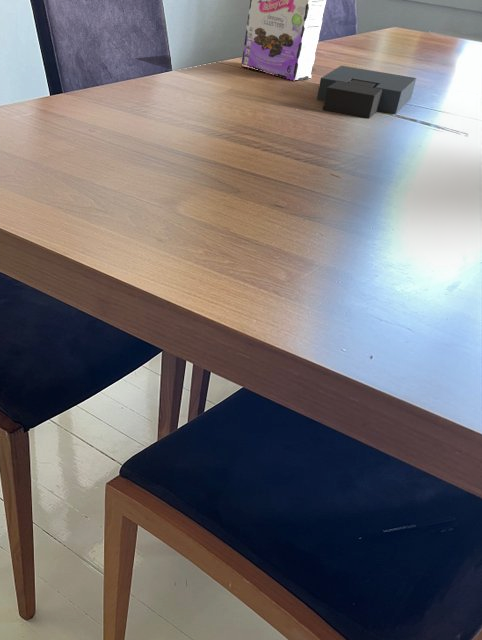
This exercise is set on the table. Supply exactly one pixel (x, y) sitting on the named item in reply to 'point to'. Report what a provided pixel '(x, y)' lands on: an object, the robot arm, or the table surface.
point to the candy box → (283, 36)
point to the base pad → (393, 86)
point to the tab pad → (353, 98)
